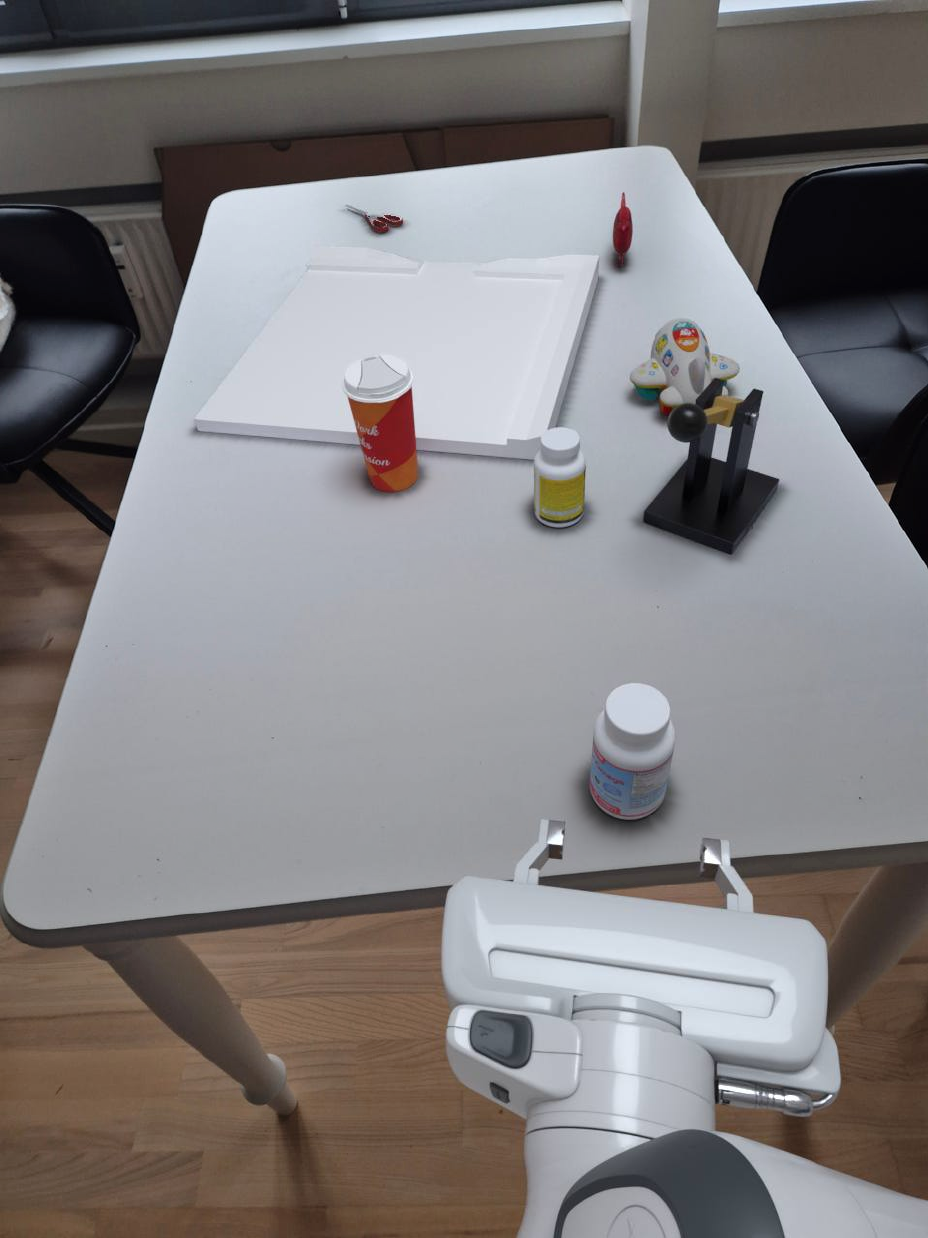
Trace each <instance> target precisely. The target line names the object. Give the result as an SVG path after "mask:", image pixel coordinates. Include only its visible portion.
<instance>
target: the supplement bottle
mask: <svg viewBox="0 0 928 1238" xmlns="http://www.w3.org/2000/svg"><path fill="white" fill-rule="evenodd" d="M586 471H587V461H586V456H585V454H584V452H582V450H581V436H580V434H579V433H578V432H577V431H576V430H574V429H572V428H570V427H563V426H557V427H555V428H552V429H549V430H547V431H546V432H544V433H543V434H542V436H541V450H540V451H539V452H538V453H537V454H536V456H535V459H534V460H533V504H534V506H533V507H534V510H533V511H534V515H535V517H536V519H537V520H538V521H539V522H540V523H542V524H544V525H546V526H548V527H552V528H565V527H570V526H572V525H574V524H577V523H578V522H579V521H580V520H581V519H582V518H583V515H584V512H585V498H586V497H585V495H586V493H585V492H586V474H587V473H586Z"/></svg>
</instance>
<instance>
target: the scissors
mask: <svg viewBox="0 0 928 1238" xmlns="http://www.w3.org/2000/svg"><path fill="white" fill-rule="evenodd" d="M345 207H348V208H349V209H351V210H353V211H355V212H356V213H359V214H362V215H363V216H364V217H365V219H366V221H368V223H369V225H370V228H371V229H372V230H373V231H375V232H378V233H385V232H387V231H389V229H390V228H389V225H390V226H393V227H396V226H397V227H398V226H401V225H402V224H404V218H403V217H402V220H401V221H398V220H400V218H399V217H396V216H391V215H392V214H391V215H384V216H385V217H386V218H388V219H390V220H392V221H398V222H392V221H389V220H387V219H385V218H383V217H377V219H378V220H379V221H382V222H385V223H387V224H388V225H387V226H386V224H385V223H382V222H379V221H376V220H374V221H373V224H374V225H375V226H377V227H378V226H379V227H380V228H377V227H375V226H373V225H372V224H371V222H370V220H369V218H368V217H370V216H368V217H367V215H366V213H368V212H367V211H363V210H361V209H358V208H356V207H354V206H351V205H348V204H345ZM384 226H386V227H384ZM381 227H382V228H381ZM383 227H384V228H383Z"/></svg>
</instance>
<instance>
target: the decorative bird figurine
mask: <svg viewBox="0 0 928 1238" xmlns="http://www.w3.org/2000/svg"><path fill="white" fill-rule="evenodd" d="M626 203H627V202H626V194H625V191H624V192H622V194H621V200H620V208H619V209H618V211H617V213H616V215H615V217H614V221H613V227H612V243H613V249H614V251H615V252H616V254H619V255H618V264H619V266H620V267H622V266H623V264H624V254H626V253H628V251H629V250H630V248H631V246H632V241H633V232H634V231H633V228H634V227H633V225H634V224H633V219H632V212H631V209H630V208H629V207H628V206H626Z"/></svg>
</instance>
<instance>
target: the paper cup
mask: <svg viewBox="0 0 928 1238" xmlns="http://www.w3.org/2000/svg"><path fill="white" fill-rule="evenodd" d="M375 358H376V359H375ZM364 359H365V360H362V361H361V362H360V359H359V360H357V361H355V362H353V363H352V364H351V365H350V366H349V367H348V368H347V369H346V371H345V374H344V380H343V383H342V389H343V392H344V393H345V394H346V395H347V397H348V401H349V404H350V408H351V412H352V415H353V419H354V423H355V427H356V430H357V434H358V438H359V441H360V445H359V446H360V448H361V452H362V456H363V459H364V464H365V466H366V467H365V468H366V470H367V474H368V477H369V480H370V483H371V484H372V486H373V487H374V488H375V489H376V490H378V491H381V492H385V493H398V492H403V491H404V490H407V489H409V488H410V487H412V486H413V485H414V484H415V483H416V481H417V480H418V476H419V473H418V472H419V470H418V469H419V467H418V452H417V451H418V450H416V436H415V423H414V410H413V397H412V385H413V382H414V376H413V373H412V372H411V370H410V369H409V368H408V365H407V364H406V362H405V361H404V360H402V359H401V358H399V357H396V356H392V355H379V357H375V356H372V357H368V358H364Z"/></svg>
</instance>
